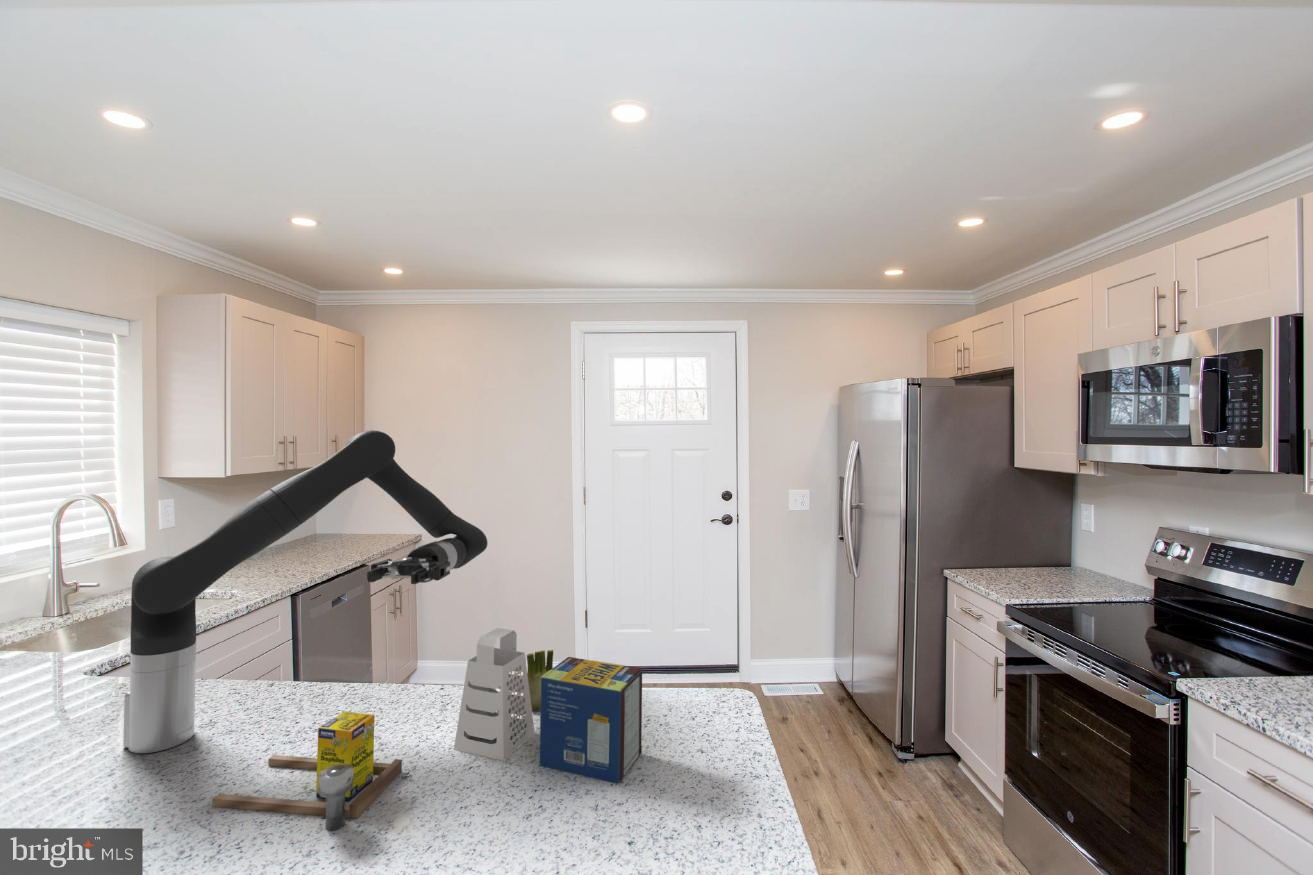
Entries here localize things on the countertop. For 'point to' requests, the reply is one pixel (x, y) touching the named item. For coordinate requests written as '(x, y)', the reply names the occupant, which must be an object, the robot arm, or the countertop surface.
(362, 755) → the supplement box
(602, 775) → the protein box
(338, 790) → the grey bolt
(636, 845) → the countertop surface
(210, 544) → the robot arm
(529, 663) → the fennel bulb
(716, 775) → the countertop surface
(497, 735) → the grater
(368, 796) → the bay
